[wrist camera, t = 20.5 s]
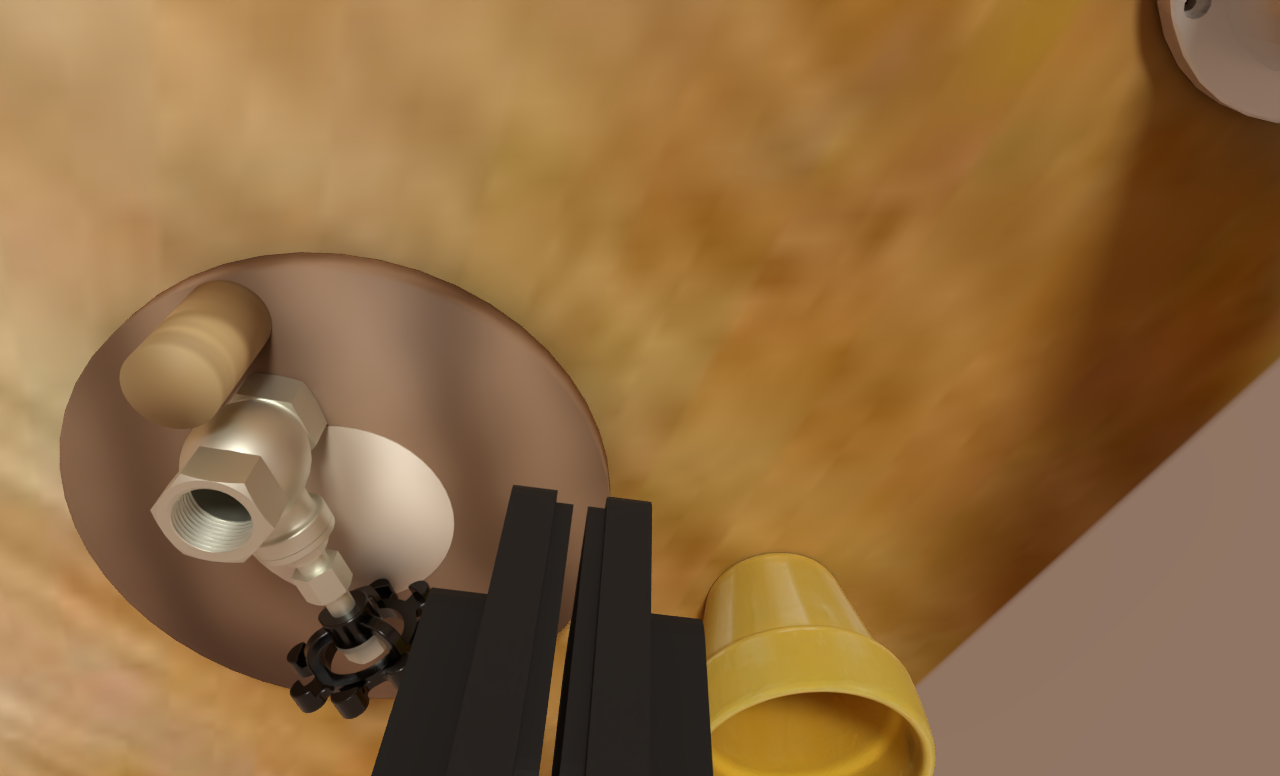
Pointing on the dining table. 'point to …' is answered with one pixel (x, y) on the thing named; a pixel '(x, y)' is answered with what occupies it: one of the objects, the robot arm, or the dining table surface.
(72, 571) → the dining table surface
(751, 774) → the plant pot
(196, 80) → the dining table surface
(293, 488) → the valve
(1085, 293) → the dining table surface
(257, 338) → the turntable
